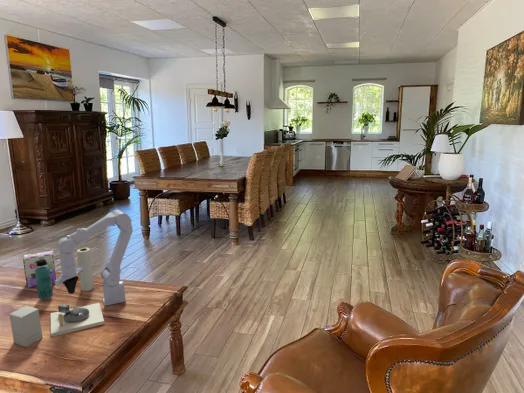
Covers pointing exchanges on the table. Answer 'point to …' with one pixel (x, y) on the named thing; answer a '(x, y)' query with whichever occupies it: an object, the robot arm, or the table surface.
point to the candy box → (31, 266)
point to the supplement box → (26, 326)
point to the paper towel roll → (85, 269)
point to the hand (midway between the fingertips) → (71, 292)
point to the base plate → (65, 327)
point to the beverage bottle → (43, 280)
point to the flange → (70, 316)
